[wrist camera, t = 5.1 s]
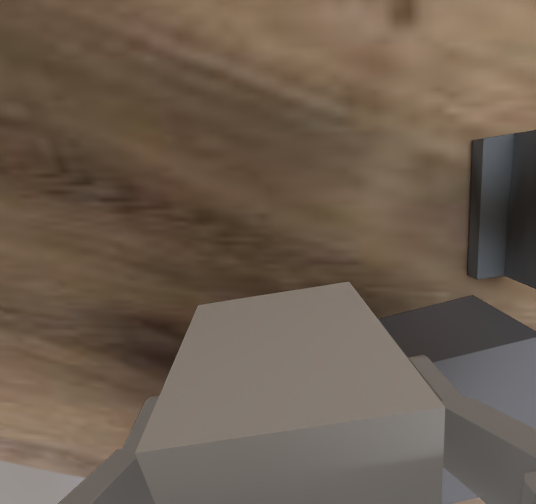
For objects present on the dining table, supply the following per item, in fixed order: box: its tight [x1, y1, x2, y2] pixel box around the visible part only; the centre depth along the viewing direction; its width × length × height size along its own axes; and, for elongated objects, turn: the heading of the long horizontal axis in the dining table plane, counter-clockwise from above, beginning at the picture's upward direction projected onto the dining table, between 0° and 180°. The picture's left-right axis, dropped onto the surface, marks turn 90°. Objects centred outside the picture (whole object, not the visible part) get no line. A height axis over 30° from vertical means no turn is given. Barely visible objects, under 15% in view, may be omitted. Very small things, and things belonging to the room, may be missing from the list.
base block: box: [378, 295, 536, 504], centre depth 18 cm, size 10×10×5 cm
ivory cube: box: [135, 282, 445, 504], centre depth 8 cm, size 5×5×5 cm
